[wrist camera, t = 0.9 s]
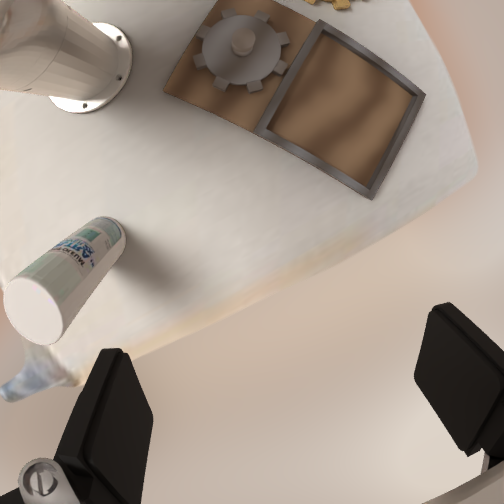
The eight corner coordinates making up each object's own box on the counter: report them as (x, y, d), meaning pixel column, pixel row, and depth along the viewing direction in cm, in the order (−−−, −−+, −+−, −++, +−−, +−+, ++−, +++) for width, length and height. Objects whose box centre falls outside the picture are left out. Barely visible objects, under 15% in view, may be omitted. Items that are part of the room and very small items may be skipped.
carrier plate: (164, 91, 34) (152, 83, 28) (230, -15, 30) (231, -38, 24) (364, 196, 41) (386, 207, 35) (416, 95, 36) (443, 92, 30)
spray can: (82, 254, 40) (6, 332, 22) (87, 210, 38) (-1, 268, 20) (124, 265, 41) (65, 355, 23) (130, 220, 39) (63, 290, 21)
